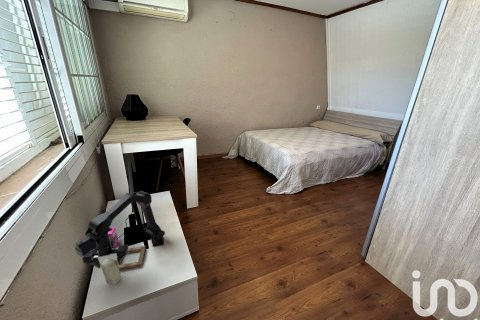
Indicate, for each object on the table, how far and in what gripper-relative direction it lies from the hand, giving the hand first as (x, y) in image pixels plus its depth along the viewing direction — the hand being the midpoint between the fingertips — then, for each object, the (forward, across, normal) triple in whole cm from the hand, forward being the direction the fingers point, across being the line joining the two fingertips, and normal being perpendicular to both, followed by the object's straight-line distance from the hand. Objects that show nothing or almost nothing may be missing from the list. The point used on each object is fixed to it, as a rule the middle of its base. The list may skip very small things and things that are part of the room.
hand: (110, 265), depth 107 cm
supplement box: (+10, +8, -27) cm, 30 cm away
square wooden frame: (+10, -6, -12) cm, 16 cm away
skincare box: (+10, 0, 0) cm, 10 cm away
